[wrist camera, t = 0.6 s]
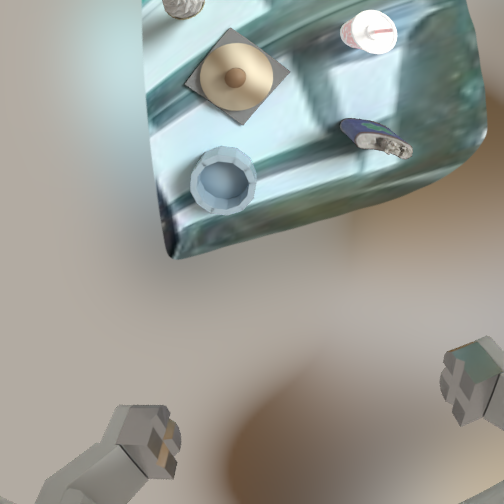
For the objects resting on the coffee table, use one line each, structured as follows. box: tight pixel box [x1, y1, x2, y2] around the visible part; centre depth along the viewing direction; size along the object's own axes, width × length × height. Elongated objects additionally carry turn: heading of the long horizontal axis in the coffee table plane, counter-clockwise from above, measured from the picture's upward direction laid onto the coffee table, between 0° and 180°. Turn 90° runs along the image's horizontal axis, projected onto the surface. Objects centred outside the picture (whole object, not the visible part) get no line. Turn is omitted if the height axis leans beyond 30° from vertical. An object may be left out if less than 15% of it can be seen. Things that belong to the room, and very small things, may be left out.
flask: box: [340, 118, 413, 159], centre depth 41 cm, size 9×3×11 cm, turn 83°
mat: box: [185, 28, 290, 125], centre depth 41 cm, size 11×11×1 cm
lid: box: [200, 43, 273, 111], centre depth 39 cm, size 10×10×4 cm
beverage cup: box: [340, 10, 397, 54], centre depth 31 cm, size 6×6×14 cm
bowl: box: [190, 146, 256, 215], centre depth 49 cm, size 10×10×4 cm
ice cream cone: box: [162, 0, 205, 20], centre depth 29 cm, size 5×5×15 cm
